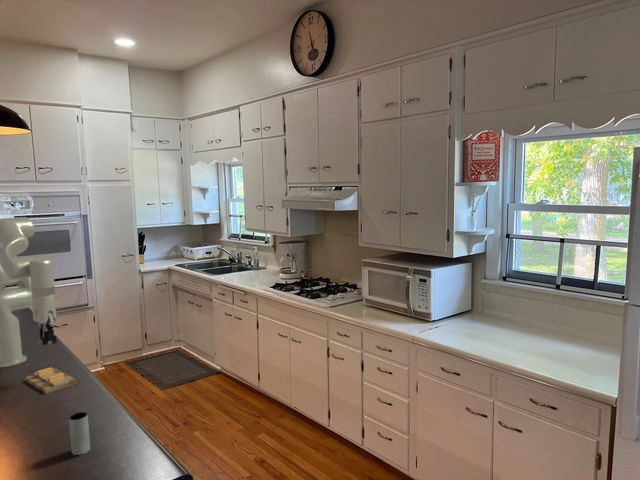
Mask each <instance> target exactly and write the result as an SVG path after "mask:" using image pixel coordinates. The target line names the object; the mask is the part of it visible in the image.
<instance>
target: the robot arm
mask: <svg viewBox="0 0 640 480" xmlns="http://www.w3.org/2000/svg"><path fill="white" fill-rule="evenodd" d="M35 231H36V227H35V223H34V222H33V221H32V219H31V218H29V217H25V216H24V217H23V216H21V217H17V216H16V217H5V218H4V217H3V218H0V244H1V246H2V247H1V246H0V288H2V287H7V286H9V287H10V286H15V285H17V287H12V288H5V289H0V368H9V367H13V366H17V365H20V364H22V363H24V362H26V361H27V360H28V359H27V358H28V357H27V356H26V355H24V354H23V351H22V340H21V330H20V329H21V328H20V320H19V318H18V317H17V316H15V314H13V313H12V312H14V311H18V310H22V309H29V308H32V320H33V321H34V322H36V323H37V324H38V328H39V338H40V341H42V337H43V326H41V325H40V323H41V324H44V328H45V331H44V339H45V342H48V341H52V340H54V334H55V327H54V326H55V325H56V321H57V310H56V302H55V295H56V290H55V289H56V288H55V287H56V286H55V279H54V278H55V277H54V263H53V260H52V259H50V258H46V257H45V256H42V255H40V256H31V257H29V256H28V257H22V258H19V257H18V258H15V257H16V256H18V255H20V254H22V253H24V252H25V251H26V250H27V249H28V247H29V240H28V239H29V238H31V237H33V236H34V235H35ZM47 321H49V322H48V323H47ZM47 324H49V325H48V326H47Z"/></svg>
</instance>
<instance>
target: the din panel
mask: <svg viewBox="0 0 640 480" xmlns="http://www.w3.org/2000/svg"><path fill="white" fill-rule="evenodd" d="M53 372H54V373H56V374H60V373H63V374H64V378H65V379H67V380H69V382H68V383H65V384H62V385H59V386H56V387H54V386H52V385H50V384H49V383H47V382H45V381H43V380H42V379H40V378H38V377H37V376H35V375H34V374H32V375H28V376H25V379H24V380H25V382H26V383H28V384H30V385H32V386H33V387H35V388H36V389H37V390H38V391H41V392H43V393H44V394H49V393H53V392H56V391H59V390H62V389H65V388H68V387H71V386H74V385H77V384H78V379H76V378H75V377H73V376H70V375H69V374H67V373H65V372H63V371H62V370H59V369H58V368H53Z"/></svg>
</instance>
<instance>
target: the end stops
mask: <svg viewBox="0 0 640 480" xmlns="http://www.w3.org/2000/svg"><path fill="white" fill-rule="evenodd" d="M53 369H54V368H53V367H46V368H44V369H41V370H37V371H36V372H37V375H38V376H42V375H45V374H48V373H52V372H53ZM63 373H64V372H63ZM63 373H60V374H57V375H53V376H50V377H48V382H53V381H57V380H60V379H63V378H64V374H63Z"/></svg>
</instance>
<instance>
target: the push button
mask: <svg viewBox="0 0 640 480" xmlns="http://www.w3.org/2000/svg"><path fill="white" fill-rule="evenodd" d="M48 322H49V321H47V323H48ZM40 325H41V326H43V337H42V340H38V341H36V343H37V345H42V346H46V345H51V344H53V345H54V344H57V342H58V341H57V334H56V333H54V340H52V341H48V342H45V339H44V331H45V328H44V324H41V323H40ZM48 325H49V324H47V326H48Z"/></svg>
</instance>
